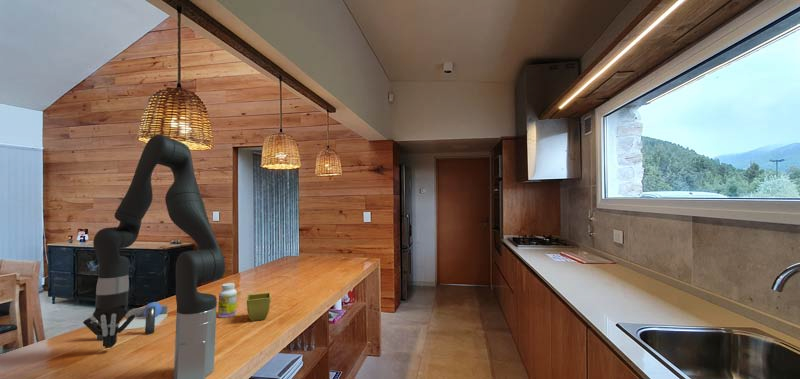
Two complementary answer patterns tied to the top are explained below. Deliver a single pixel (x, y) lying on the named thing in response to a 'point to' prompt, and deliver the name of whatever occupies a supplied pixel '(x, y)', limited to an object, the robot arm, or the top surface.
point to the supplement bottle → (227, 301)
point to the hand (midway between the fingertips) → (109, 346)
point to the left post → (99, 337)
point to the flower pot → (258, 306)
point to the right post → (150, 320)
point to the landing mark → (142, 322)
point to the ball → (157, 308)
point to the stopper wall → (140, 310)
